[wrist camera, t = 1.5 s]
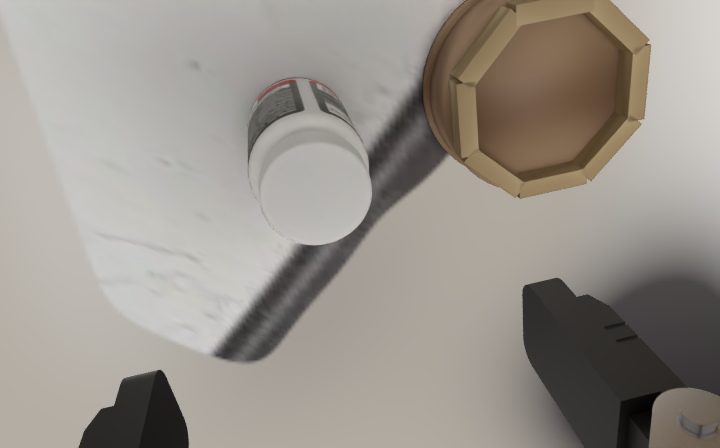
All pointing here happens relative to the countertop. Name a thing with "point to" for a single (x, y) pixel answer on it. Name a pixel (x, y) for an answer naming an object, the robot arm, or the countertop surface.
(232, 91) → the countertop surface
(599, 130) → the octagonal tan dish
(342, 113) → the pill bottle
